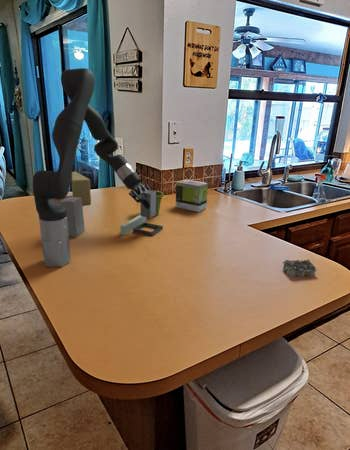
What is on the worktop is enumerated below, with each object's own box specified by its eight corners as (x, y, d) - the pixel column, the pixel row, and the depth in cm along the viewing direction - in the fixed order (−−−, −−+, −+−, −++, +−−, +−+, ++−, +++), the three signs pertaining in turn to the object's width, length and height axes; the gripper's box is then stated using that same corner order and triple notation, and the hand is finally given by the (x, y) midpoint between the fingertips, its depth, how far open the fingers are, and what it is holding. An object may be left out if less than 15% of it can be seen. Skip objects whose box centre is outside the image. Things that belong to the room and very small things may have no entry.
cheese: (66, 196, 202) (64, 171, 197) (83, 194, 206) (81, 170, 201) (73, 206, 184) (71, 179, 179) (91, 204, 188) (90, 178, 183)
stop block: (150, 217, 149) (150, 194, 145) (140, 215, 151) (140, 192, 147) (155, 214, 153) (156, 191, 150) (146, 212, 155) (146, 189, 151)
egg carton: (287, 277, 119) (289, 267, 117) (280, 267, 126) (282, 257, 124) (317, 277, 119) (319, 267, 118) (308, 267, 126) (310, 257, 125)
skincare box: (76, 237, 144) (74, 202, 138) (61, 236, 145) (58, 200, 140) (85, 230, 152) (83, 197, 146) (71, 229, 153) (68, 195, 147)
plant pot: (159, 209, 184) (159, 189, 180) (165, 216, 173) (166, 195, 169) (138, 211, 180) (138, 190, 176) (143, 218, 170) (143, 197, 166)
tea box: (206, 208, 190) (208, 182, 185) (198, 212, 182) (199, 186, 177) (184, 203, 197) (185, 178, 192) (174, 207, 189) (175, 181, 184)
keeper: (152, 236, 149) (152, 233, 148) (133, 232, 152) (133, 228, 152) (162, 229, 157) (162, 226, 157) (144, 225, 161) (144, 222, 160)
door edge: (124, 235, 149) (124, 226, 147) (120, 234, 149) (120, 225, 148) (146, 221, 166) (146, 213, 164) (142, 220, 167) (142, 213, 165)
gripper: (124, 174, 142) (149, 205, 142) (141, 168, 154) (164, 197, 154) (114, 184, 146) (138, 215, 146) (132, 178, 158) (154, 206, 158)
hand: (151, 206), depth 150 cm, fingers closed on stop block, 5 cm apart
